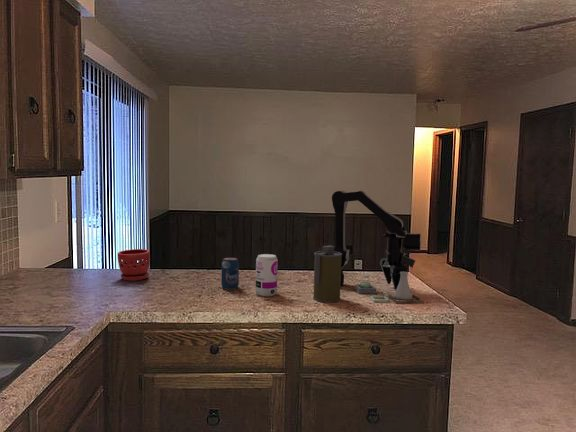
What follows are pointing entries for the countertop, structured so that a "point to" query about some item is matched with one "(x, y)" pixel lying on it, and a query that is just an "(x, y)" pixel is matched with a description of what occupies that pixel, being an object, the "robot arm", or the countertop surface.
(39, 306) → the countertop surface
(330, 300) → the canister
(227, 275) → the soda can
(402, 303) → the outline
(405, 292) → the flask
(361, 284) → the button
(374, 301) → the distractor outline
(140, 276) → the plant pot
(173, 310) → the countertop surface
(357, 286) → the button housing
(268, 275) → the supplement can
